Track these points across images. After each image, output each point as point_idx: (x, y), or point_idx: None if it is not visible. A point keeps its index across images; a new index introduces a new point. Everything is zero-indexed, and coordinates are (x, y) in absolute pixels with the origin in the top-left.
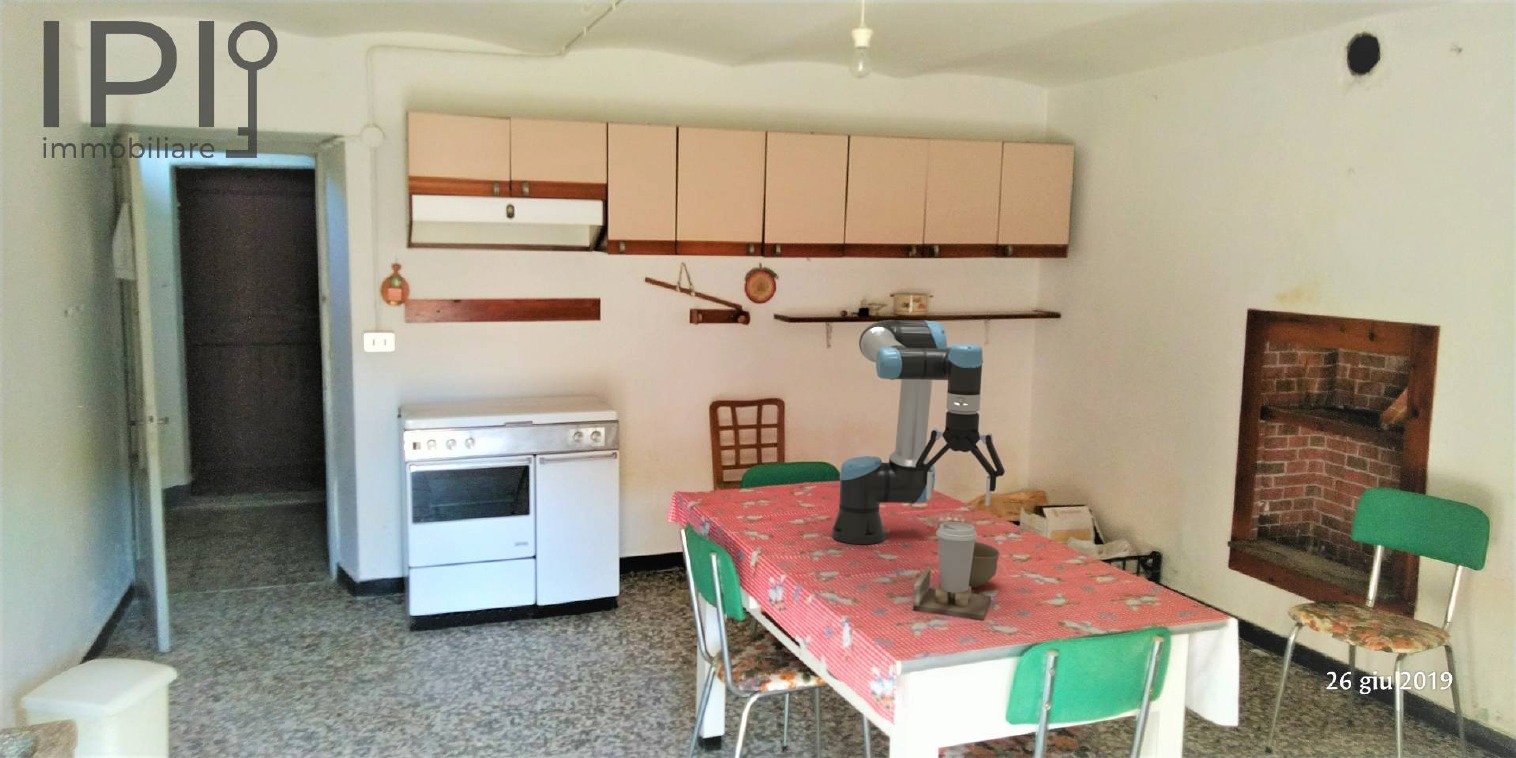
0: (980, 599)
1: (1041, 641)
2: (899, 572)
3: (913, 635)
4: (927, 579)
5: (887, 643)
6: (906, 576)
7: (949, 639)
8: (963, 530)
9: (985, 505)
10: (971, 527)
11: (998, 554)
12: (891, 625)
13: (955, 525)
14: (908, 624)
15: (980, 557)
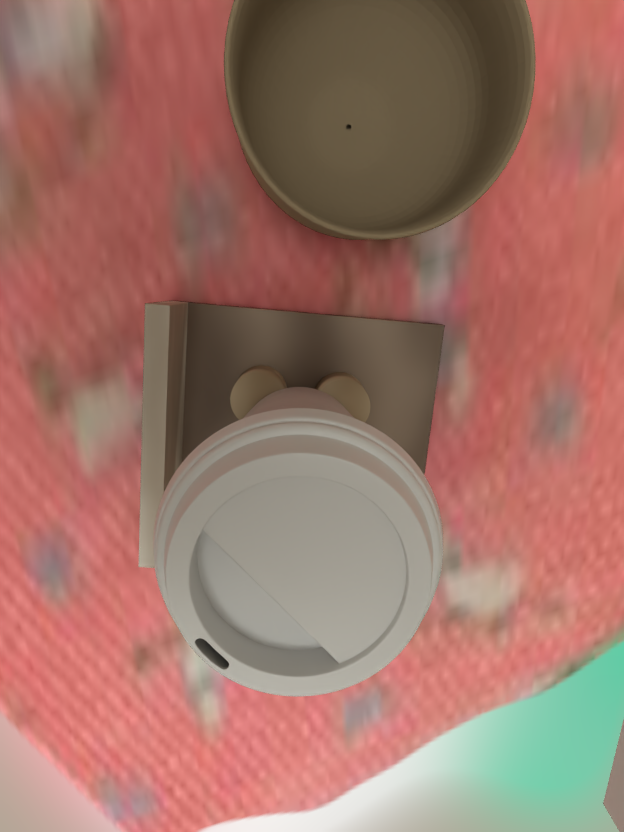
0: (402, 379)
1: (588, 655)
2: (11, 42)
3: (202, 731)
4: (173, 374)
5: (140, 807)
6: (56, 98)
7: (311, 726)
8: (353, 670)
9: (607, 806)
10: (409, 570)
11: (527, 111)
12: (121, 677)
13: (281, 521)
14: (171, 652)
15: (423, 230)
